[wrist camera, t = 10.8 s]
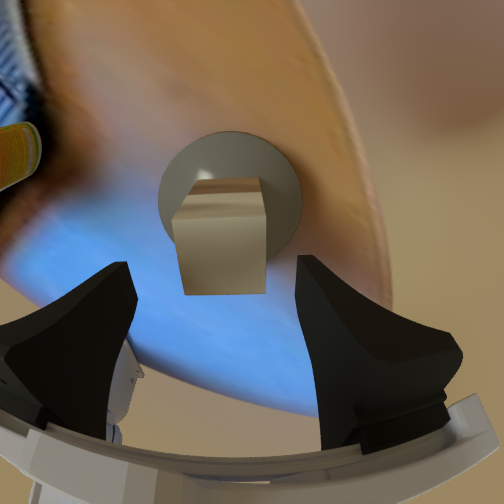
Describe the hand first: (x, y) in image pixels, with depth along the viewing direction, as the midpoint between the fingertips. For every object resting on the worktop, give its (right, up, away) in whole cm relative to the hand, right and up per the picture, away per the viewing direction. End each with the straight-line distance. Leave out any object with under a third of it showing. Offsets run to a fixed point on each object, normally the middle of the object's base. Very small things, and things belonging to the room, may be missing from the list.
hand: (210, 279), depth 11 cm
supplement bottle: (-19, +11, +6) cm, 23 cm away
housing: (0, +4, +7) cm, 8 cm away
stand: (0, +5, +9) cm, 10 cm away
